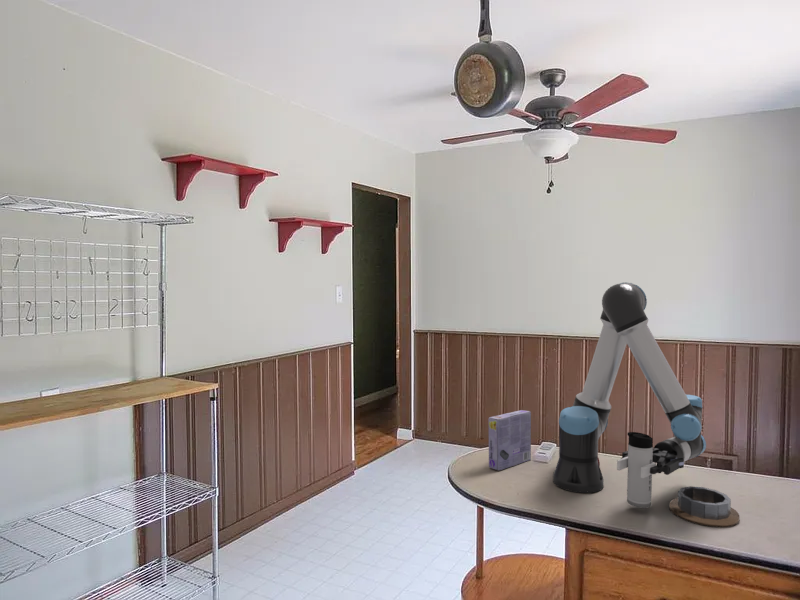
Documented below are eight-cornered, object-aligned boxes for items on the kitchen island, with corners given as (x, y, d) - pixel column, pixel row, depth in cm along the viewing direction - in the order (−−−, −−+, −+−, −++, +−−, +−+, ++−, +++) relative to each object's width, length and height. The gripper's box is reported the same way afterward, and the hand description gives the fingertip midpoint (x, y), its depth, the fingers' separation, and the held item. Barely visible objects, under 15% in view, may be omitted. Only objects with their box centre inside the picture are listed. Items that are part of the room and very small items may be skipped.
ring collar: (655, 504, 159) (656, 487, 159) (702, 497, 165) (702, 480, 164) (704, 531, 143) (705, 512, 143) (754, 521, 148) (755, 503, 148)
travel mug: (622, 498, 159) (624, 429, 158) (645, 499, 159) (647, 430, 158) (630, 508, 153) (632, 436, 151) (655, 508, 152) (657, 436, 151)
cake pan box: (522, 455, 202) (522, 407, 201) (533, 459, 198) (534, 410, 197) (487, 468, 190) (487, 417, 189) (498, 472, 186) (498, 420, 185)
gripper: (704, 474, 159) (664, 494, 144) (640, 455, 174) (598, 472, 160) (705, 448, 158) (665, 465, 144) (641, 432, 173) (598, 446, 159)
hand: (630, 469), depth 152 cm, fingers closed on travel mug, 6 cm apart
